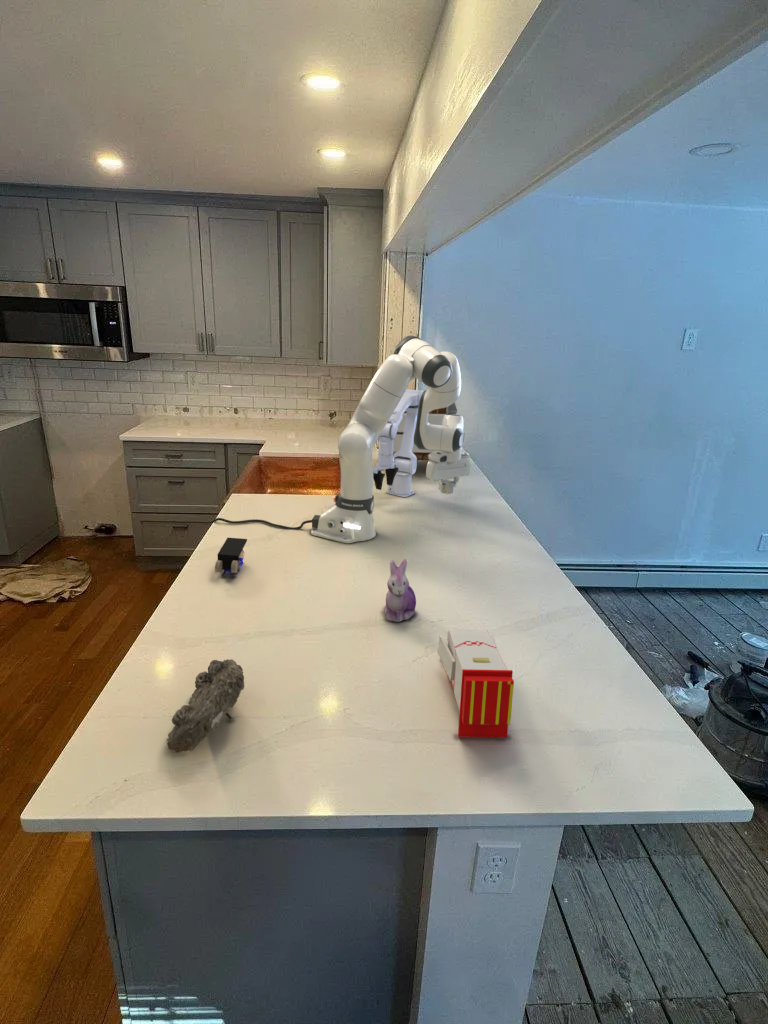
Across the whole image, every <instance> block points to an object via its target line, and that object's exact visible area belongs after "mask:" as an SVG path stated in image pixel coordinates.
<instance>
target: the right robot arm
mask: <svg viewBox="0 0 768 1024" xmlns="http://www.w3.org/2000/svg"><path fill="white" fill-rule="evenodd" d="M423 391H424V390H422V389H421V390H420V389H419V390H418V389H411V388H410V389H409V388H407V389H406V391H405V393H404V394H403V396H402V398H401V400H400V402H399V403H398V405H397V407H396V408H395V410H394V412H393V414H392V415H391V417H390V419H389V421H388V422H387V424H386V426H385V427H384V429H383V431H382V433H381V434H380V436H379V438H378V439H377V442H378V451H377V464H376V465H375V466H373V483H374V486H375V489H376V490H377V491H381V490H382V488H383V482H384V478H385V477H386V479H385V481H386V485H387V491H386V493H387V494H389V495H393V496H398V497H401V498H407V497H409V496H413V495H414V494H415V491H412V479H413V477H412V476H413V475H414V474H415V473H416V472H417V469H418V468H417V467H418V464H417V462H418V460H417V457H416V456H415V455H414V454H413V453H412V448H413V442H414V440H413V437H414V432H415V429H416V422H417V414H418V407H419V401H420V398H421V395H422V393H423ZM405 411H406V412H407V416H406V422H405V427H404V433H403V438H402V443H401V449H400V450H399V451H398V452H396V453H395V454H394V456H393V443H394V438H395V437H396V434H397V430H398V426H399V424H400V422H401V421H402V419H403V416H402V414H403V413H404V412H405ZM401 457H404V458H410V459H411V460H410V459H404V458H401ZM383 471H384V472H385V473H383Z"/></svg>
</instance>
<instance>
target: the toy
mask: <svg viewBox="0 0 768 1024" xmlns="http://www.w3.org/2000/svg"><path fill="white" fill-rule="evenodd" d="M446 640H447V643H446V641H445V639H444V636H443V635H442V634H439V637H438V646H437V656H438V657H439V659H440V661H441V663H442V666H443V668H444V670H445V672H446V674H447V677H448V679H449V681H450V684H451V687H452V690H453V693H454V697H455V701H456V705H457V708H458V711H459V714H458V715H459V716H458V730H457V731H458V732H457V737H458V738H508V731H509V726H510V725H511V717H512V707H513V697H514V696H513V695H514V684H515V680H514V679H513V673H514V671H513V670H512V669H508V667H507V665H506V662H505V661H504V659H503V658H502V655H501V653H500V651H499V649H498V647H497V643H496V639H495V637H494V635H493V634H491V632H490V631H489V629H467V628H466V629H465V628H463V629H461V628H460V629H459V628H448V630H447V639H446Z"/></svg>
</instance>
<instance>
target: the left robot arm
mask: <svg viewBox="0 0 768 1024" xmlns="http://www.w3.org/2000/svg"><path fill="white" fill-rule="evenodd" d="M373 375H374V376H372V379H371V380H370V383H369V384H368V386H367V388H366V390H365V392H364V393H363V395H362V397H361V399H360V401H359V403H358V405H357V407H356V409H355V410H354V413H353V415H352V417H351V418H350V421H349V422H348V424H347V426H346V427H345V428H344V430H343V431H342V432H341V434H340V435H339V437H338V441H337V447H338V461H339V469H340V470H339V471H340V490H339V491H338V492H337V494H336V495H335V496H334V497H333V502H334V504H333V505H331V506H329V507H328V508H326V509H325V510H323V512H321V514H314V515H313V517H312V519H307V520H304V521H302V522H301V523H300V525H299V526H296V527H294V526H293V527H290V526H286V525H282V524H277V523H273V522H271V521H268V520H265V519H256V518H255V519H245V520H229V519H226V518H223V517H217V518H213V520H212V521H211V523H215V522H217V521H221V522H225V523H228V524H232V525H233V524H234V525H236V524H246V523H247V524H248V523H262V524H266V525H269V526H271V527H274V528H275V527H276V528H279V529H284V530H301V529H302V528H303V527H304V525H306V524H310V523H311V530H310V533H311V536H315V537H319V538H323V539H326V540H330V541H336V542H339V543H343V544H352V543H357V542H365V541H368V540H372V539H373V538H375V537H376V535H377V532H376V528H375V523H374V513H373V512H374V509H375V496H374V479H373V467H374V462H373V451H374V447H375V444H376V443H377V442H378V440H377V439H378V438H379V436H380V434H381V433H382V431H383V429H384V427H385V426H386V424H387V422H388V421H389V419H390V417H391V415H392V414H393V412H394V410H395V408H396V407H397V405H398V403H399V402H400V400H401V398H402V396H403V394H404V393H405V391H406V389H408V387H409V384H410V382H411V381H412V380H414V379H416V380H418V381H419V382H422V383H423V384H424V385H425V386H426V387H428V388H427V389H425V390H422V391H423V393H422V395H421V398H420V401H419V407H418V414H417V422H416V429H415V432H414V437H413V440H414V444H415V445H416V446H417V447H418V448H419V449H420V450H436V451H434V452H432V453H430V454H429V455H428V459H430V460H427V461H428V462H427V464H426V470H425V477H426V478H427V480H430V481H436V482H437V485H438V490H441V489H444V485H443V484H442V481H443V480H447V479H452V478H453V480H452V481H453V482H454V488H457V484H458V482H459V480H460V477H466V476H469V475H470V474H471V456H470V453H468V452H463V446H464V442H465V430H464V429H465V427H464V426H465V425H464V424H465V423H464V416H462V415H461V414H457V415H454V414H446V415H444V417H443V422H442V425H433V424H430V423H428V417H429V412H430V411H432V410H435V409H439V408H445V407H448V406H450V405H452V404H453V403H454V402H455V403H456V402H457V400H459V398H460V396H461V392H462V391H461V390H462V375H461V368H460V364H459V360H458V358H457V356H456V355H455V354H454V353H452V352H451V351H446V350H444V351H439V350H438V349H437V348H435V347H434V345H432V344H430V343H429V342H427V341H425V340H423V339H422V338H421V337H418V336H416V335H407V336H405V337H403V338H402V339H401V340H400V341H399V342H398V343H397V344H396V347H395V349H394V351H393V354H390V355H389V356H388V357H387V358H386V359H385V360H384V361H383V362H382V363H381V365H380V366H379V368H377V371H376V372H375V373H374V374H373Z"/></svg>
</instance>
